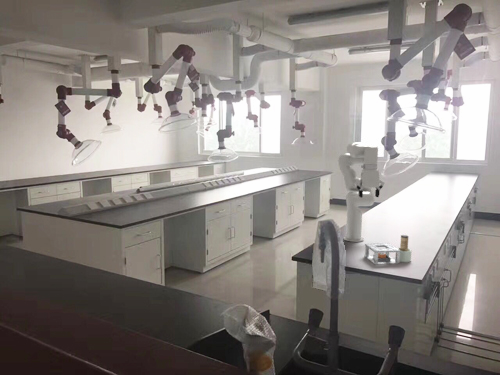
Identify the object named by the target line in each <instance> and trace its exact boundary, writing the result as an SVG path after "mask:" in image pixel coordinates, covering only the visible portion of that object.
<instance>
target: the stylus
mask: <svg viewBox="0 0 500 375" xmlns="http://www.w3.org/2000/svg"><path fill="white" fill-rule="evenodd" d="M399 246H400V247H399V248H400V250H401V251H408V249H409V236H408V235H407V234H402V235H400V245H399Z"/></svg>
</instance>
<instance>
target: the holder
mask: <svg viewBox="0 0 500 375" xmlns="http://www.w3.org/2000/svg"><path fill="white" fill-rule="evenodd" d="M397 248H398V249H399V250H400V247H397ZM412 252H413V251H412V249H411V248H408V251H401V252H400V259H399V263H410V262H411V261H412Z"/></svg>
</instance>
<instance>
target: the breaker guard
mask: <svg viewBox="0 0 500 375" xmlns="http://www.w3.org/2000/svg"><path fill="white" fill-rule="evenodd" d="M364 246H365V248H364V249H365V251H364V258H366V259H367V260H369V262H371V263H372V264H373V265H392V264H393V265H394V264H397V265H398V264H399V265H400V261H399V259H400V252H401V250H399V249H398V248H399V247H396V246H395V245H393V244H392V243H390V242H378V243H364ZM370 251H372V252H373V253H374V254H371V255H370ZM378 253H384V254H386V258H378ZM390 253H395V257H394V258H393V257H392V256H390Z"/></svg>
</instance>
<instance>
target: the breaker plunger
mask: <svg viewBox="0 0 500 375" xmlns="http://www.w3.org/2000/svg"><path fill="white" fill-rule="evenodd" d="M378 258H386V254H385V253H378Z"/></svg>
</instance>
